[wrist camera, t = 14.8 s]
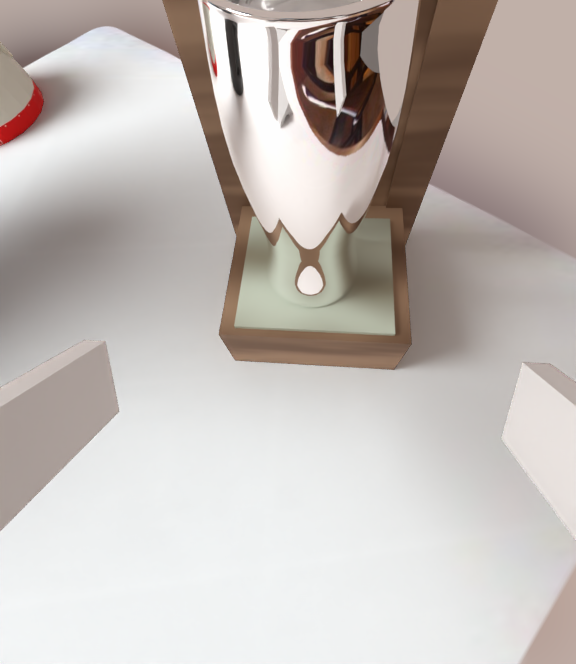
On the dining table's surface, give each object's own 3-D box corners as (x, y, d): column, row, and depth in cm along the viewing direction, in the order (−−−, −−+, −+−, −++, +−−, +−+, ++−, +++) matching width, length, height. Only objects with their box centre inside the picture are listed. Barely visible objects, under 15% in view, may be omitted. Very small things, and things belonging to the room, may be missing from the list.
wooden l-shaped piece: (413, 370, 25) (1096, -419, 3) (217, 359, 26) (-239, -232, 5) (403, 227, 30) (631, -429, 9) (241, 224, 32) (83, -341, 10)
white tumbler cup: (316, 335, 21) (318, 55, 7) (239, 273, 23) (132, -29, 10) (385, 264, 23) (492, -69, 9) (308, 213, 25) (300, -115, 11)
